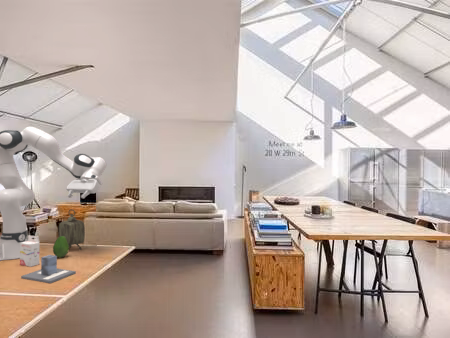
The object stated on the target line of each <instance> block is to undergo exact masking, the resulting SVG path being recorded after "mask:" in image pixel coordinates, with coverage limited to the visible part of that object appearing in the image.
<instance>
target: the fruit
mask: <svg viewBox="0 0 450 338" xmlns="http://www.w3.org/2000/svg"><path fill="white" fill-rule="evenodd" d="M69 250H70V247H68V243H67V240H66V238H65V237H64V236H60V237H59V236H58V237H57V238H56V240H55V241H54V243H53V246H52V251H53V255H54V256H57V258H61V259H62V258H64V257H66V256H67V254H68V253H69Z"/></svg>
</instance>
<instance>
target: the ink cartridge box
mask: <svg viewBox="0 0 450 338" xmlns="http://www.w3.org/2000/svg"><path fill="white" fill-rule="evenodd" d="M27 239H28V241H26V242H21V243H20V258H19V266H25V267H30V268H31V267H35V266H38V265H40V236H37V235H36V236H35V235H28V234H27Z"/></svg>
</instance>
